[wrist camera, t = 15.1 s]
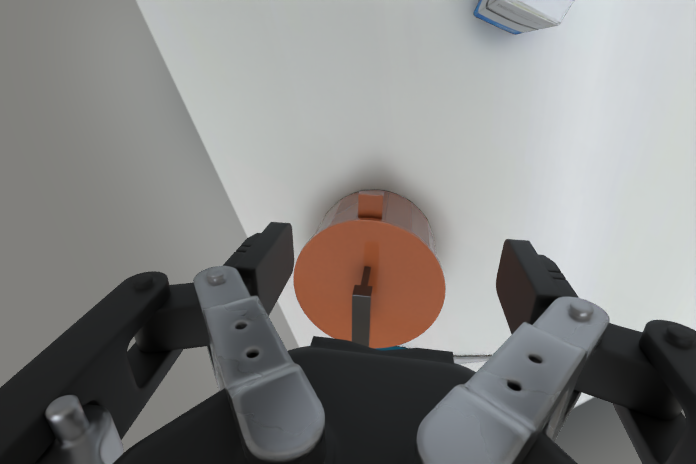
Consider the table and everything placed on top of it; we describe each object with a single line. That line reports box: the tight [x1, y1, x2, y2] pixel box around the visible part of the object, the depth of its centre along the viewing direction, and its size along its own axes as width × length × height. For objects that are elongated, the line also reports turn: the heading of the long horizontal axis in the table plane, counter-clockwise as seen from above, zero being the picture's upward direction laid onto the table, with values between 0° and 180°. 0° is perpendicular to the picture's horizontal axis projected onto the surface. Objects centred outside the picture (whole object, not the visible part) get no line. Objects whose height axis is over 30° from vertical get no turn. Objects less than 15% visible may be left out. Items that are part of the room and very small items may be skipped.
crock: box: [316, 190, 436, 349], centre depth 44 cm, size 15×20×10 cm
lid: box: [294, 218, 445, 348], centre depth 37 cm, size 16×16×6 cm
